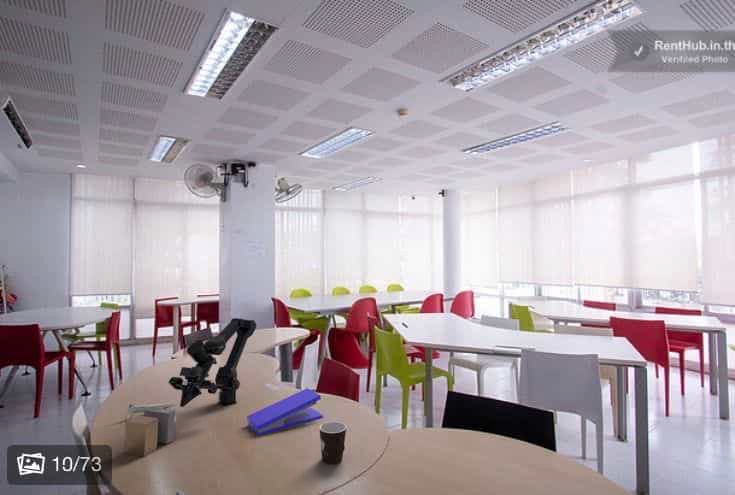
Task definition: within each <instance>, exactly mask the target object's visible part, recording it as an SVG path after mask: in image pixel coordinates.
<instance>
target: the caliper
mask: <svg viewBox="0 0 735 495" xmlns="http://www.w3.org/2000/svg"><path fill="white" fill-rule="evenodd" d="M176 405H177V404H176V403H174V402H167V403H160V404H150V405H145V404H141V405H135V403H132V404H131V403H129V406H128V407H127V409H126V411H125V421H127V420H130V419H132V418H134V417H136V414H137V413H139V414H141V413H142V414H143V413H144V410H146V409H148V408H150V407H155V408H162V409H167V408H170V407H173V406H176Z"/></svg>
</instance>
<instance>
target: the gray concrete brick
mask: <svg viewBox="0 0 735 495" xmlns="http://www.w3.org/2000/svg"><path fill="white" fill-rule="evenodd" d="M175 415H176V409H175V410H174V409H170V408H155V407H150V408H148V409H146V410H144V415H143V416H145V417H152V418H158V423H159V430H158V435H157V443H160V444H165V445H166V444H169V443H171V442H173V441H174V440H175V424H176V423H175V422H176V421H175Z"/></svg>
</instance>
